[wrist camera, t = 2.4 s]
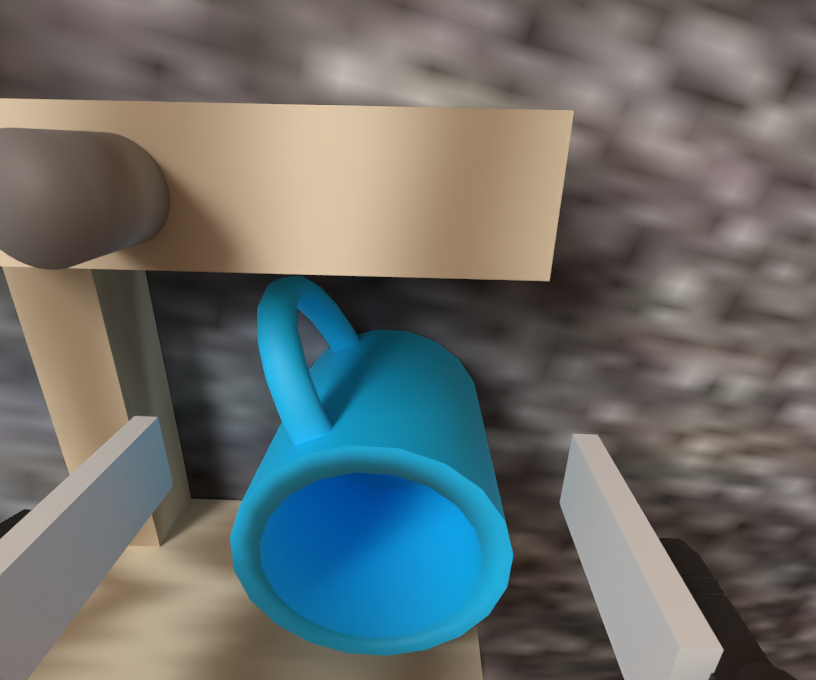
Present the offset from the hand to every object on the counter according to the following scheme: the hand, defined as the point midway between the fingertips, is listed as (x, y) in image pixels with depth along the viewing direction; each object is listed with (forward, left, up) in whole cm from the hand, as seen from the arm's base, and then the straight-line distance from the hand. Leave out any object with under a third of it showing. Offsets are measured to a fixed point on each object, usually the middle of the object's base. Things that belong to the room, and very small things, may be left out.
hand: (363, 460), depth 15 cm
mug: (0, 0, -6) cm, 6 cm away
